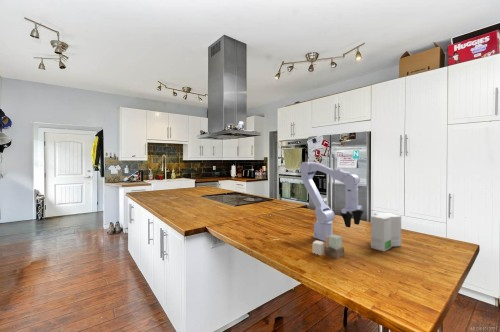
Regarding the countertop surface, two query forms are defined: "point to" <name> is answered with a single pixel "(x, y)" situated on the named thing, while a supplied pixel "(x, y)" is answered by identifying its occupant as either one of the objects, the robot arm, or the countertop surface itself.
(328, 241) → the terracotta cylinder
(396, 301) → the countertop surface
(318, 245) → the cream block
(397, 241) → the supplement box
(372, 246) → the skincare box
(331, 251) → the walnut block
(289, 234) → the countertop surface
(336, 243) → the sage block
